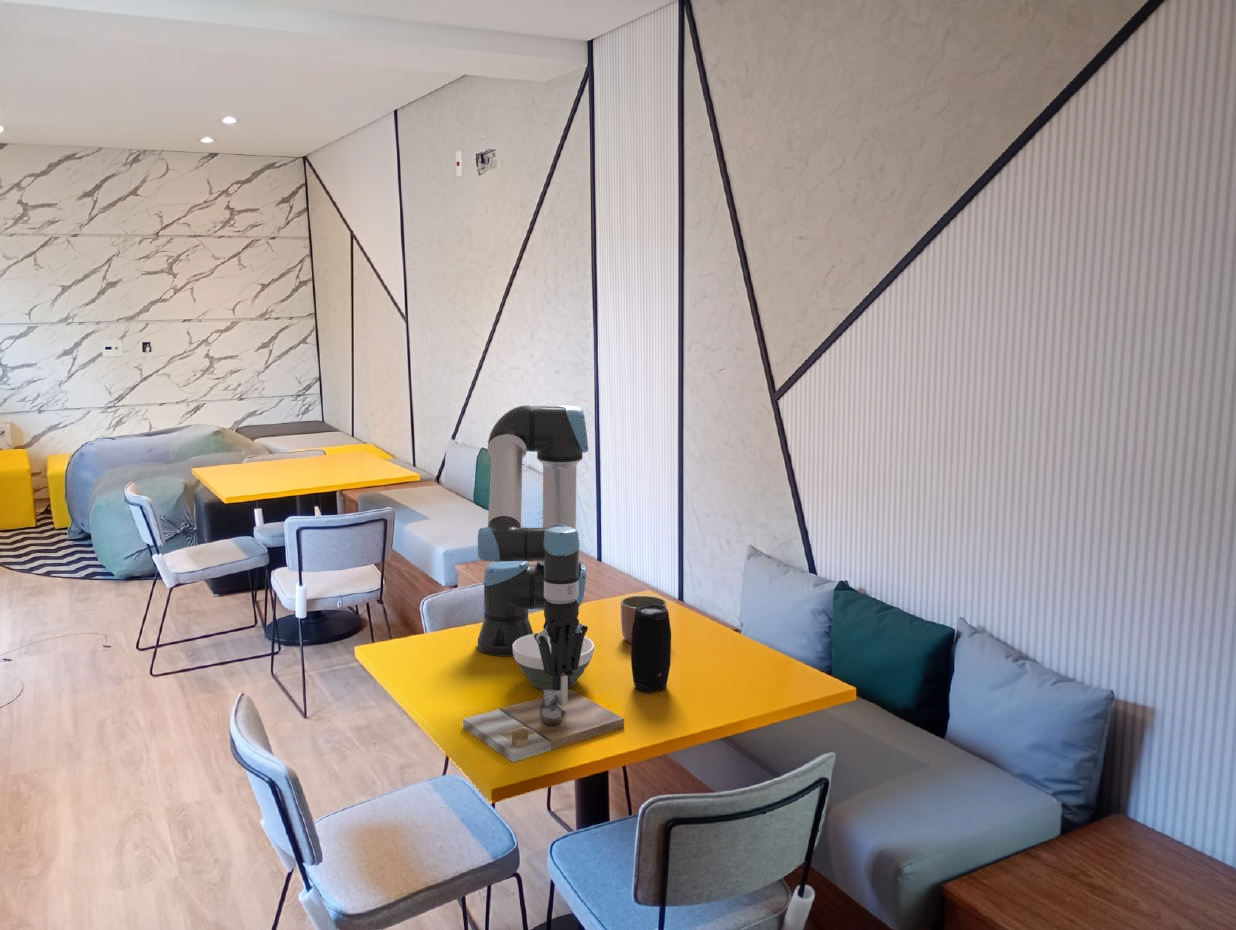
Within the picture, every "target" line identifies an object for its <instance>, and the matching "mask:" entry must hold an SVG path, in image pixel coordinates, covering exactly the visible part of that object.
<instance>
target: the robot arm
mask: <svg viewBox="0 0 1236 930" xmlns="http://www.w3.org/2000/svg"><path fill="white" fill-rule="evenodd" d="M487 441H488V442H487V452H488V454H489V456H490V457H491V460H490V461H491V462H490V481H489V498H488V515H487V516H488V517H487V526H486V527H481V528H479V529H478V533H477V557H478V558H479V560H481V561H484V562H491V563H489V564H488V565H487V566H486V567H485V569H484V574H483V582H482V584H483V593H484V594H483V595H484V596H483V622H482V625H481V628H480V631H479V635H478V637H477V650H478V651H479V652H480V653H483V654H486V655H489V656H495V657H514V655H513V643H514V642H515V641H516V640H517V639H519V638H521V637H523V636H526V635H530V634H534V632H533V628H532V626H531V623H530V619H529V610H543V617H544V619H545V620H544V623H543V629H542V630H541V633H540V632H539V633H540V634H535V635H534V638H535V640H536V641H537V643H538V645H539V650H540V654H541V659H542V663H543V667H544V672H545V673H547V674H549V675H551V676H552V677H553V689H554V690H555V691H554V692H555V698H556V702H557V703H559V704H560V705H566V704H568V690H569V689H570V688H571V687H570V676H571V675H573V672H572V671H573V670H577V668H578V665H579V660H580V655H581V650H582V645H583V640H584V636H585V635H586V634H587V632H588V629H589V626H587V625H584V624H582V623H580V621H579V618H578V617H579V613H580V611H579V610H580V606H581V605H582V603H583V600H584V596H585V595H584V594H585V589H586V581H587V579H586V578H587V566H586V565H585V564H583V563H582V558H581V557H580V555H579V554H580V539H579V531H578V529H577V527H576V525H577V523H576V522H577V520H576V519H577V466H578V464H579V463H580V462H581V461H582V460H583V453H584V454H585V453H587V452H589V444H588V443H589V442H588V434H587V425H586V419H585V412H584V410H583V409H582V408H581V407H579V406H572V405H565V404H564V405H521V406H516V407H514V408H512V409H510V410H509V411H507V412H506V413H504V414H503V415H502V416H501V417H500V418H499V419H498V421H496V422H495V424H494V426H493V427H492V429H491V431H490V434H489V436H488V440H487ZM527 452H530V453H531V452H534V453H536V459H537V460H538V461H539V462H540V463H541V465H542V527H522V498H523V497H522V496H523V495H522V492H523V485H522V484H523V459H524V458H525V456H526V454H527ZM530 562H536V564H530ZM547 635H548V636H549V638H550V644H551V651H550V647H549V644H548V642H547V641H548V637H547ZM585 637H586V636H585ZM569 687H570V688H569Z"/></svg>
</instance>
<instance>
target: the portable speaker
mask: <svg viewBox="0 0 1236 930" xmlns="http://www.w3.org/2000/svg"><path fill="white" fill-rule="evenodd" d="M630 645H631V646H630V647H631V651H630V661H631V663H630V665H631V672H632V680H633V684H634V687H635V689H636V691H638V692H640V693H646V694H650V693H651V692H652V691H655V690H661V691H665V690H666V689H667V686H668V685H667V684H668V680H669V676H670V675H669V674H670V668H671V659H672V655H671V654H672V652H671V651H672V628H671V623H670V614H669V610H668V608H667V607H666V608H665V606H663V605H659V604H650V605H647V606H642V607H636V611H635V618H634V623H633V627H632V643H630Z"/></svg>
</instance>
